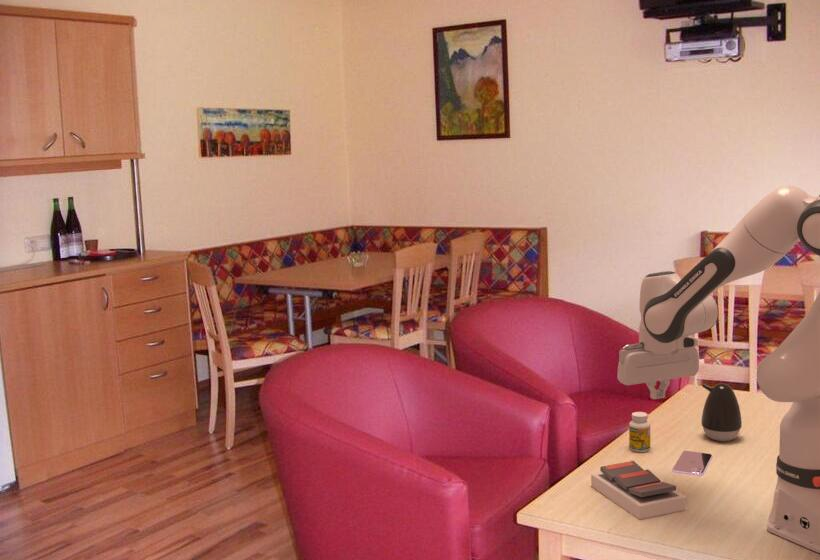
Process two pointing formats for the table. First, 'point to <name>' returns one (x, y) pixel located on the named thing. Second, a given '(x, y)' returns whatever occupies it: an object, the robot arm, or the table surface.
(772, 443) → the table surface
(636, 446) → the supplement bottle
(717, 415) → the pump dispenser
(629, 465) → the block
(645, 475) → the rocker
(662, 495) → the rocker switch panel
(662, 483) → the rocker
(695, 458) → the mobile phone
